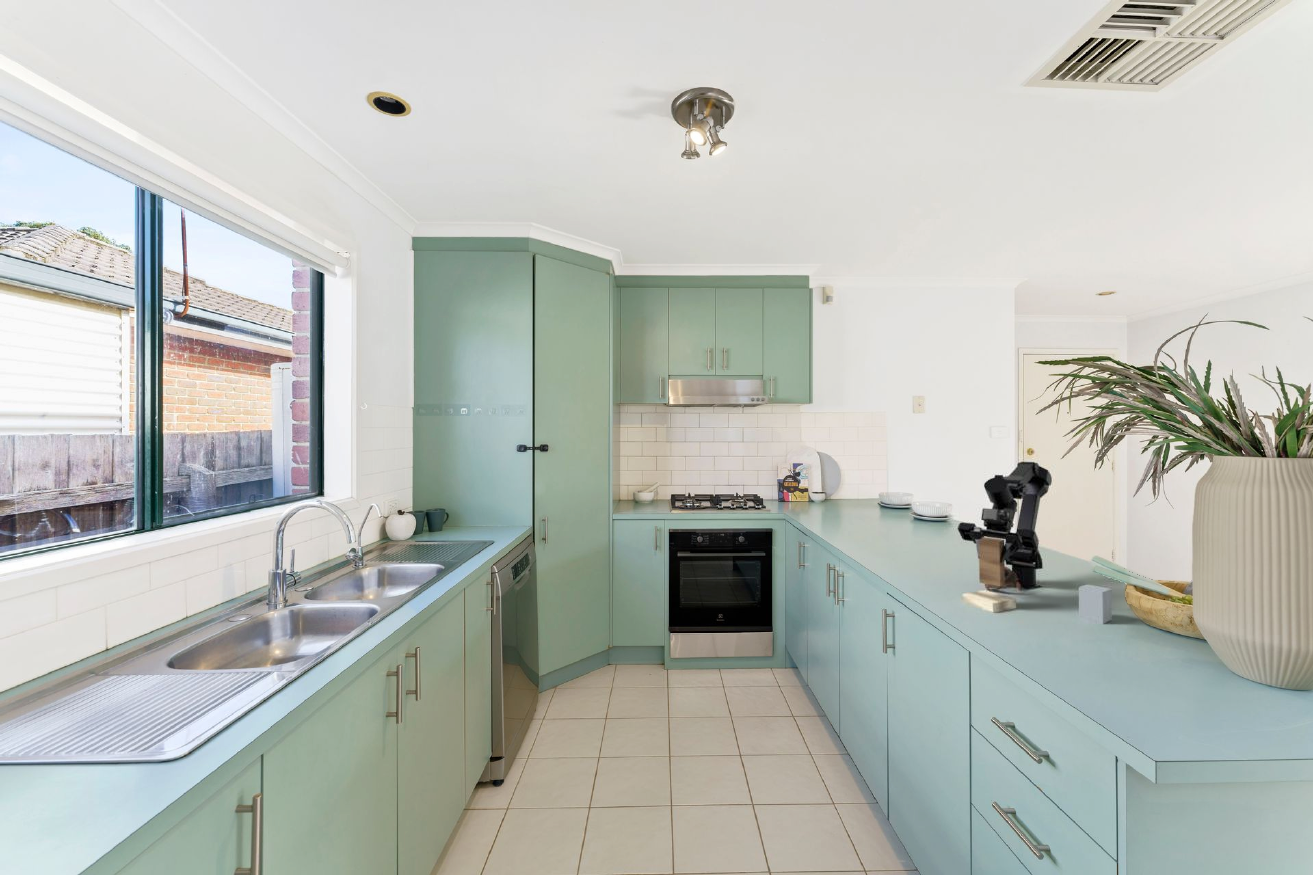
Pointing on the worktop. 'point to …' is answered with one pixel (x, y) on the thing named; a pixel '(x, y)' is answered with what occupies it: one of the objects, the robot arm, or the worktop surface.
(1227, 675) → the worktop surface
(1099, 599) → the grey block
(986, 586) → the pottery mug
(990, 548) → the walnut block
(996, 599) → the birch block
